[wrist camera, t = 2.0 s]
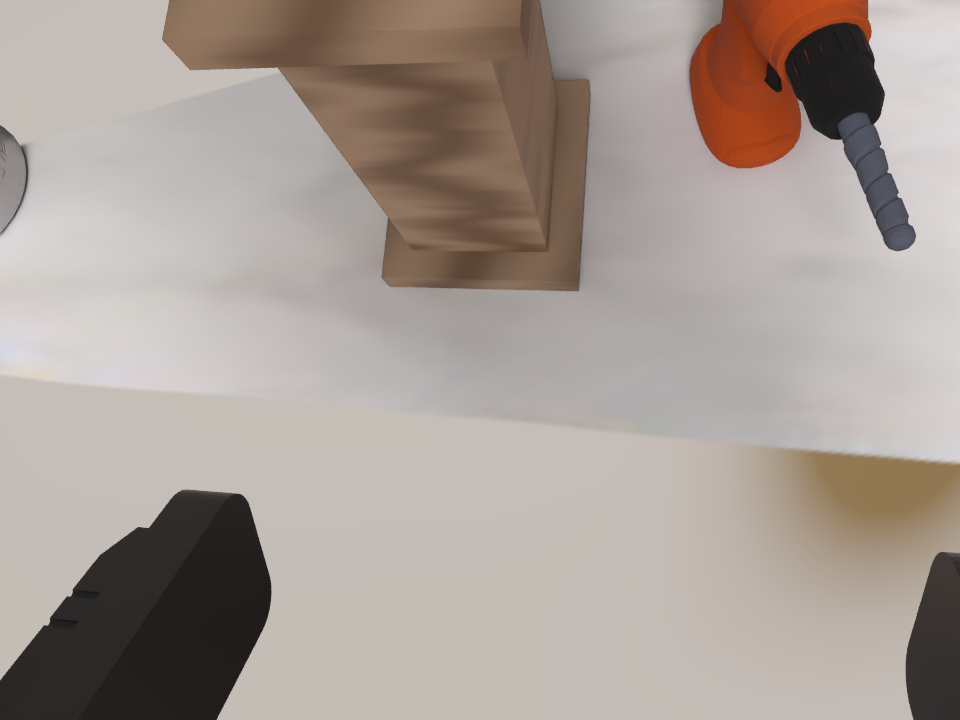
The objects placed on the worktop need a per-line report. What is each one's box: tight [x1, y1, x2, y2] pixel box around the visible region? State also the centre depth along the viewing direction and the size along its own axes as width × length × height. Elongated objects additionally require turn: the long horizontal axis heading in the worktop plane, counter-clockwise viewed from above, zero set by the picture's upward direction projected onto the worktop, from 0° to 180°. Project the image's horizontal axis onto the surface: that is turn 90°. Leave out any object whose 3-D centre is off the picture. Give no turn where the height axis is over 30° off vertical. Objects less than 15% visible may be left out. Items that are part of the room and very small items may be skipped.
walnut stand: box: [162, 0, 590, 291], centre depth 34 cm, size 10×11×22 cm
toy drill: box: [690, 0, 916, 251], centre depth 34 cm, size 5×19×15 cm, turn 10°
